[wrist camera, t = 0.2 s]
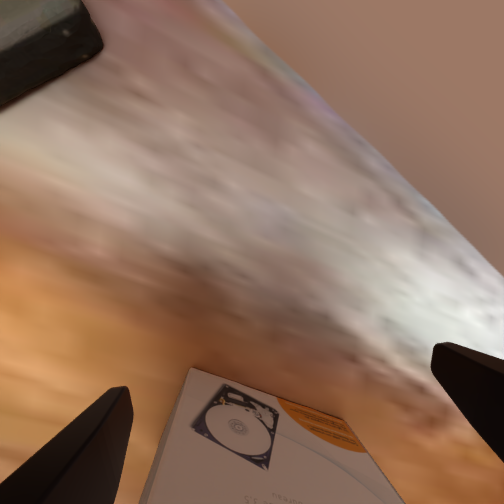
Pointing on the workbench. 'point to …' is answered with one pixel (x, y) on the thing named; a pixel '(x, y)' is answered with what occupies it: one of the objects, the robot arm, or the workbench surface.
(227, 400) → the hard drive box
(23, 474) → the robot arm
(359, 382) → the workbench surface
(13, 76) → the network switch
